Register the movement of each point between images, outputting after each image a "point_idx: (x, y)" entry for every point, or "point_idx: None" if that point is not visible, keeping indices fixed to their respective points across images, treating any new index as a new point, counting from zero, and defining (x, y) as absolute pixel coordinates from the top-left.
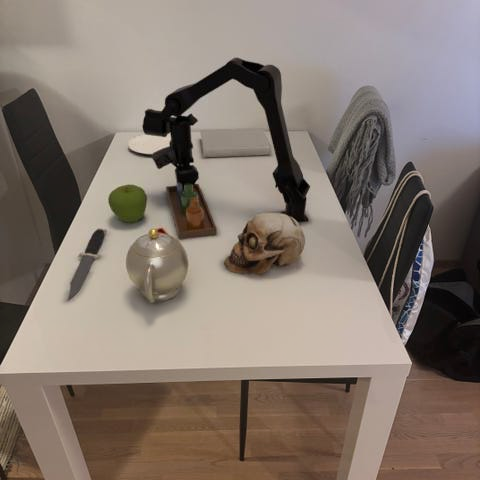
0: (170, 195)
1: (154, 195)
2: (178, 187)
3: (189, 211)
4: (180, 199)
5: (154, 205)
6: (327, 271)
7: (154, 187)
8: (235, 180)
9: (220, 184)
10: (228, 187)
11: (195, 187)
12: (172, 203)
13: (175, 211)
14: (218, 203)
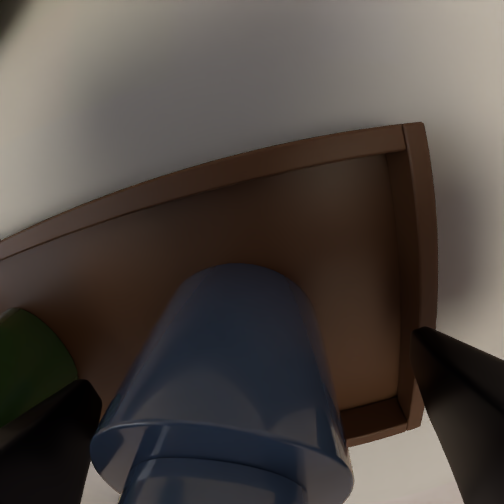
0: (159, 204)
1: (327, 9)
2: (127, 378)
3: None
4: (168, 301)
5: (109, 50)
6: None
7: (476, 30)
8: (436, 480)
9: (427, 456)
10: (383, 483)
11: (401, 397)
12: (11, 252)
13: (11, 262)
14: None
